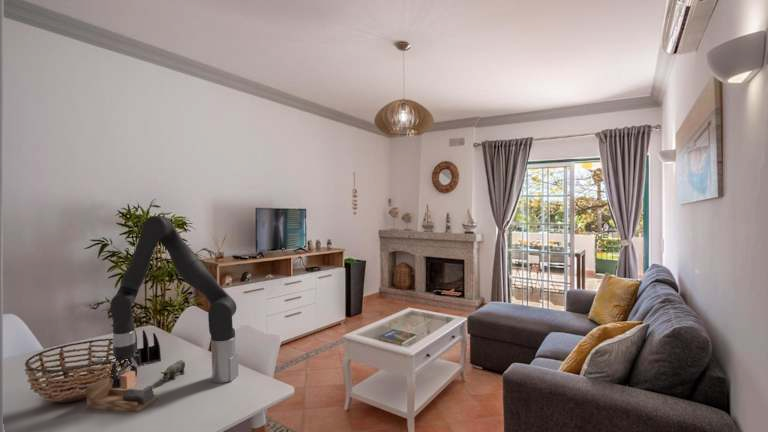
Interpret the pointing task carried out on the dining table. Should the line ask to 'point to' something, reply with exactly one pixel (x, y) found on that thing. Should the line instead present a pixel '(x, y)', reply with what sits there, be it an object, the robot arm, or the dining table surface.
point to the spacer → (127, 380)
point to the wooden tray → (111, 397)
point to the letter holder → (149, 350)
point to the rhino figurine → (173, 370)
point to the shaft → (138, 395)
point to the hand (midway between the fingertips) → (125, 382)
